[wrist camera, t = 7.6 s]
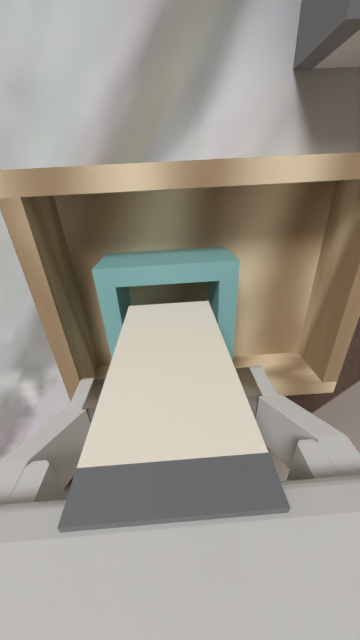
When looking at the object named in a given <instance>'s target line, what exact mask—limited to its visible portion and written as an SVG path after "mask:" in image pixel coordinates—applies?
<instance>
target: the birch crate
mask: <svg viewBox="0 0 360 640" xmlns="http://www.w3.org/2000/svg"><path fill="white" fill-rule="evenodd" d="M0 210H1V212H2V215H3V218H4V221H5V223H6V226H7V229H8V231H9V234H10V237H11V240H12V242H13V245H14V248H15V251H16V253H17V256H18V259H19V262H20V264H21V267H22V270H23V272H24V275H25V278H26V281H27V283H28V286H29V289H30V292H31V294H32V297H33V300H34V302H35V305H36V308H37V311H38V313H39V316H40V319H41V322H42V324H43V327H44V330H45V332H46V335H47V338H48V341H49V343H50V346H51V349H52V352H53V354H54V357H55V360H56V363H57V365H58V368H59V371H60V373H61V376H62V379H63V382H64V384H65V387H66V390H67V393H68V395H69V398H70V401H71V400H72V397H73V395H74V393H75V391H76V389H77V387H78V384H79V382H80V381H81V380H82V379H83V378H96V377H106V376H107V372H108V369H109V366H110V363H111V360H112V358H111V353H110V349H109V344H108V340H107V336H106V331H105V327H104V322H103V318H102V314H101V309H100V305H99V300H98V296H97V292H96V287H95V283H94V278H93V274H92V269H93V267H94V266H95V265H96V264H97V263H98V262H99V261H100V260H101V259H102V258H103V257H104V256H105V255H106V254H108V253H125V252H142V251H159V250H175V249H192V248H209V247H226V248H227V249H228V250H229V251H230V252H231V253H232V254H233V255H234V256H235V257H237V258H238V259H239V260H240V265H239V279H238V293H237V307H236V321H235V335H234V349H233V364H234V367H235V368H240V367H249V366H261V367H262V368H263V370H264V371H265V373H266V375H267V377H268V378H269V380H270V382H271V384H272V386H273V387H274V389H275V391H276V393H277V394H278V395H283V396H289V395H303V394H316V393H329V392H333V391H334V388H335V386H336V383H337V380H338V377H339V374H340V371H341V368H342V365H343V363H344V360H345V357H346V354H347V351H348V348H349V345H350V342H351V339H352V337H353V334H354V331H355V328H356V325H357V322H358V319H359V316H360V152H350V153H330V154H311V155H291V156H271V157H251V158H231V159H212V160H192V161H172V162H152V163H132V164H113V165H93V166H73V167H53V168H33V169H14V170H0ZM128 288H129V294H130V300H131V306H136V305H151V304H167V303H182V302H197V301H208V292H209V282H193V283H177V284H161V285H145V286H129V287H128Z"/></svg>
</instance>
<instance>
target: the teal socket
mask: <svg viewBox="0 0 360 640" xmlns="http://www.w3.org/2000/svg"><path fill="white" fill-rule="evenodd" d="M239 265H240V260H239V259H238V258H237V257H235V256H234V255H233V254H232V253H231V252H230V251H229V250H228V249H227V248H226V247H209V248H192V249H175V250H159V251H142V252H125V253H108V254H106V255H105V256H104V257H103V258H102V259H101V260H100V261H99V262H98V263H97V264H96V265H95V266H94V267H93V269H92V274H93V278H94V283H95V287H96V292H97V296H98V300H99V305H100V309H101V314H102V318H103V322H104V327H105V331H106V336H107V340H108V344H109V349H110V353H111V358H112V357H113V354H114V351H115V348H116V345H117V341H118V338H119V335H120V332H121V329H122V326H123V323H124V320H125V317H126V314H127V310H128V307H129V306H131V300H130V294H129V288H128V287H129V286H145V285H161V284H177V283H193V282H209V292H208V301H209V304H210V306H211V309H212V311H213V314H214V316H215V319H216V321H217V324H218V326H219V329H220V331H221V334H222V336H223V339H224V342H225V344H226V347H227V349H228V352H229V354H230V357H231V359H232V362H233V349H234V335H235V321H236V307H237V293H238V279H239Z"/></svg>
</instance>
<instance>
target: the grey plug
mask: <svg viewBox="0 0 360 640" xmlns="http://www.w3.org/2000/svg"><path fill="white" fill-rule="evenodd" d="M344 67H360V0H302V4H301V12H300V20H299V28H298V36H297V43H296V51H295V59H294V67H293V70H296V69H320V68H344Z"/></svg>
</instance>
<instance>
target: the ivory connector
mask: <svg viewBox="0 0 360 640" xmlns="http://www.w3.org/2000/svg"><path fill="white" fill-rule="evenodd" d="M289 510H290V506H289V503H288V501H287V498H286V495H285V493H284V490H283V488H282V485H281V483H280V480H279V478H278V475H277V473H276V470H275V468H274V465H273V463H272V460H271V458H270V455H269V453H268V450H267V448H266V445H265V442H264V440H263V437H262V435H261V432H260V430H259V427H258V425H257V422H256V420H255V417H254V415H253V412H252V410H251V407H250V405H249V402H248V400H247V397H246V395H245V392H244V389H243V387H242V384H241V382H240V379H239V377H238V374H237V372H236V369H235V367H234V364H233V362H232V359H231V357H230V354H229V352H228V349H227V347H226V344H225V342H224V339H223V336H222V334H221V331H220V329H219V326H218V324H217V321H216V319H215V316H214V314H213V311H212V309H211V306H210V304H209V301H197V302H182V303H167V304H151V305H136V306H129V307H128V310H127V314H126V317H125V320H124V323H123V326H122V329H121V332H120V335H119V338H118V341H117V345H116V348H115V351H114V354H113V357H112V360H111V363H110V366H109V369H108V372H107V376H106V379H105V382H104V385H103V388H102V391H101V394H100V397H99V400H98V403H97V407H96V410H95V413H94V416H93V419H92V422H91V425H90V428H89V431H88V434H87V438H86V441H85V444H84V447H83V450H82V453H81V456H80V459H79V462H78V465H77V469H76V472H75V475H74V478H73V481H72V484H71V488H70V490H69V493H68V497H67V500H66V503H65V506H64V509H63V512H62V515H61V518H60V521H59V524H58V528H57V529H58V530H59V532H60V533H62V532H74V531H85V530H96V529H108V528H119V527H131V526H142V525H153V524H165V523H176V522H187V521H199V520H210V519H222V518H233V517H244V516H256V515H267V514H278V513H289Z"/></svg>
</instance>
